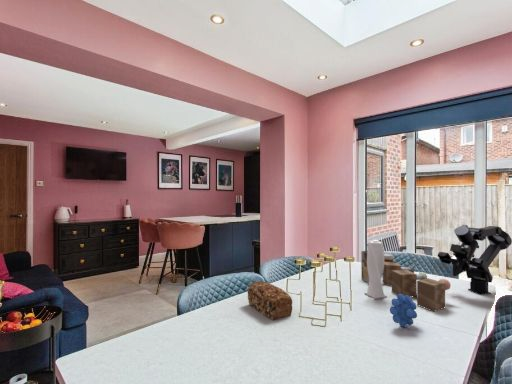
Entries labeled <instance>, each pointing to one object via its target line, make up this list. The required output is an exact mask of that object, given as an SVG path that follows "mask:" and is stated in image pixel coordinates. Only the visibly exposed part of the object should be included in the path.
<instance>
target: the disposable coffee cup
mask: <svg viewBox="0 0 512 384" xmlns="http://www.w3.org/2000/svg"><path fill="white" fill-rule="evenodd" d="M394 259H395V255H394V254H393V253H392V254H391V253H387V252H384V262H393V263H394ZM382 276H383V274H382Z"/></svg>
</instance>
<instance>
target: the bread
mask: <svg viewBox="0 0 512 384" xmlns="http://www.w3.org/2000/svg"><path fill="white" fill-rule="evenodd" d="M247 300H248V304H249V306H251V307H253V309H255V310H256V311H258V312H259V313H260V314H261V315H263V316H265V317H267V318H268V319H270V320H271V321H273V320H274V321H275V320H280V319H281V318H286V317H289V316H291V315H292V311H293V299H292V296H290V294H289V293H287V292H286V291H285V290H284V289H282V288H281V287H278V286H276V285H275V284H272V283H268V282H267V281H260V280H259V281H255V282H252V283H251V284H250V285H249V286H248V288H247Z"/></svg>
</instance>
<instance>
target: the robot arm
mask: <svg viewBox="0 0 512 384" xmlns="http://www.w3.org/2000/svg"><path fill="white" fill-rule="evenodd" d="M453 232H454V234H455V236H456V238H457V239H458V241H459V242H460V243H461V244H455V243H451V245H450V250H449V251H450V252H452V255H450V252H444V251H439V252H438V253H437V254H436V256H437V257H438V259H439V260H440V262H441V263H442V264H446V265H449V264H451V265H452V276H453V277H456V276H459V275H461V274H463V273H465V272H466V277H467V279H470V283H469V285H470V286H469V287H470V288H468V289H467V290H468V291H470V290H471V291H470V292H472V291H473V293H475V294H477V293H478V294H477V295H492V292H490V291H489V283H492V282H493V280H494V279H493V278H494V277H493V275H492V274H491V272H490V268H489V267H490V265H491V264H492V262H494V260H495V258H496V257H497V256H498V254H500V252H501V251H504V250H507V249H508V248H509V247H510V246H511V245H512V238H511V236H510V234H509V233H508V232H506V231H504V230H503V229H502V227H500V226H497V225H496V226H493V225H488V226H485V227H479V228H476V227H469V226H468V224H461V226H457V227H456V228H454V230H453ZM486 239H487V240H488V242H489V243H488V246H487V247H486V248H485V250H484V251H483V252H482V253H481V255H480V257H479V258H477V257H475V253H476V250H477V249H480V245H479V242H478V241H481V242H482V241H485V240H486Z"/></svg>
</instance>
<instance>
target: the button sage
mask: <svg viewBox="0 0 512 384" xmlns="http://www.w3.org/2000/svg"><path fill="white" fill-rule="evenodd" d="M423 279H428V275H427V273H425V271H424V272H423V271H421V272H418V274H417V281H419V280H423Z"/></svg>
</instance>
